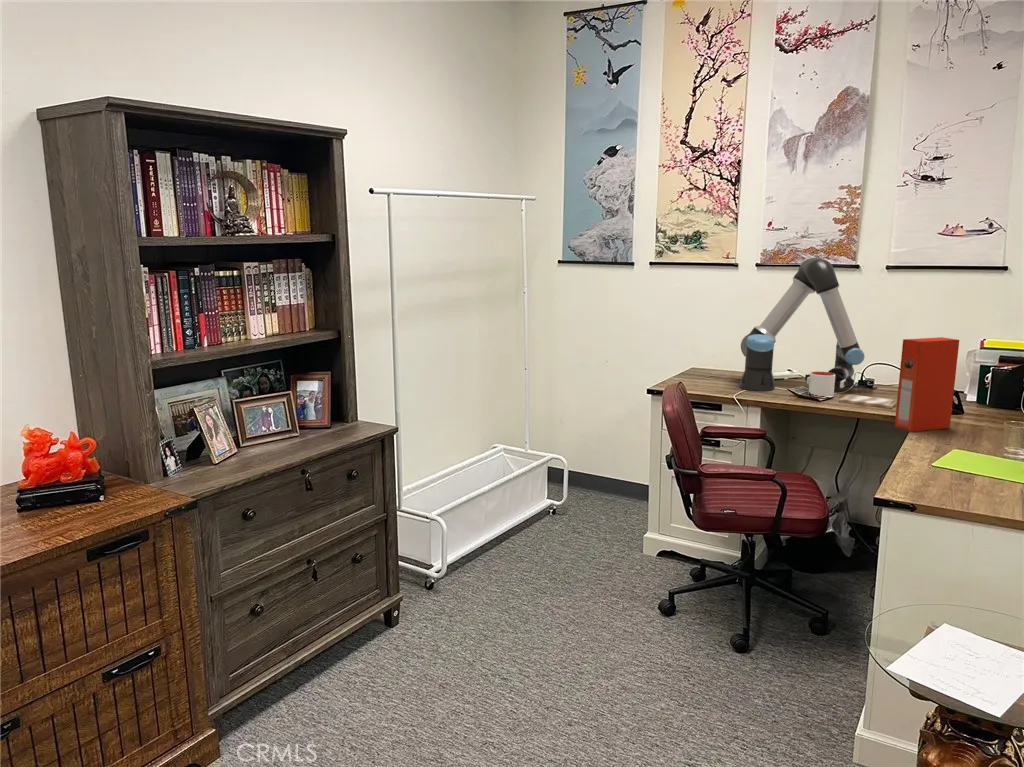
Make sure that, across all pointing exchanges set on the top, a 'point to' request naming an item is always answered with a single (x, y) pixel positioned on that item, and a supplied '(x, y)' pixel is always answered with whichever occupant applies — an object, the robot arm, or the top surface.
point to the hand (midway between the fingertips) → (824, 383)
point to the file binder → (926, 383)
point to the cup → (822, 383)
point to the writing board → (868, 401)
